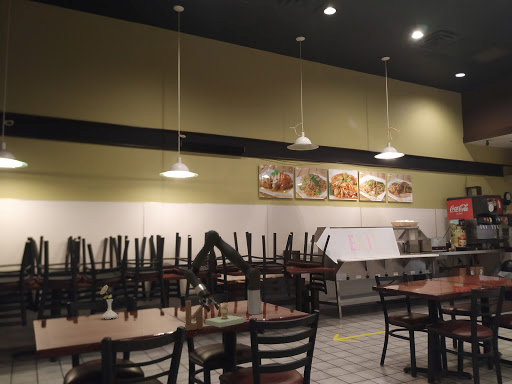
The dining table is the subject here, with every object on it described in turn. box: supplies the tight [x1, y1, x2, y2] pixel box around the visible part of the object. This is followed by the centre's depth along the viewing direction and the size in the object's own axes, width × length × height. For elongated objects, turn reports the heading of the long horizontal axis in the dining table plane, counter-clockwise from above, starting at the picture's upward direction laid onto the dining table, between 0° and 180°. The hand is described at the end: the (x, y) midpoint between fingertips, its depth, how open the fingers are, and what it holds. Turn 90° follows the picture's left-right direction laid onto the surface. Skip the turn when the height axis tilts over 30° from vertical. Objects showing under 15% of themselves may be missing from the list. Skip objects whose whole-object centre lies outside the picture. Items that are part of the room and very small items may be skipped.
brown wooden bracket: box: [184, 299, 204, 332], centre depth 267 cm, size 4×11×18 cm, turn 113°
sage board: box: [205, 314, 245, 328], centre depth 281 cm, size 20×16×3 cm
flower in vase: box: [99, 284, 119, 320], centre depth 313 cm, size 13×11×25 cm
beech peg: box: [219, 302, 229, 320], centre depth 282 cm, size 5×5×13 cm
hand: (214, 310), depth 288 cm, fingers open, 8 cm apart
